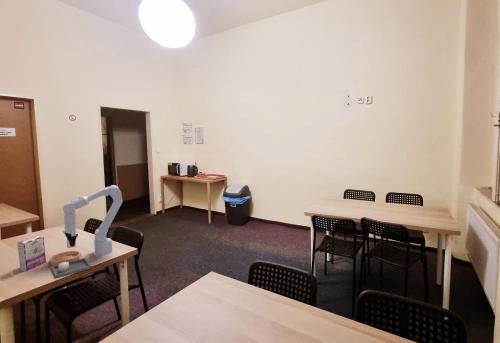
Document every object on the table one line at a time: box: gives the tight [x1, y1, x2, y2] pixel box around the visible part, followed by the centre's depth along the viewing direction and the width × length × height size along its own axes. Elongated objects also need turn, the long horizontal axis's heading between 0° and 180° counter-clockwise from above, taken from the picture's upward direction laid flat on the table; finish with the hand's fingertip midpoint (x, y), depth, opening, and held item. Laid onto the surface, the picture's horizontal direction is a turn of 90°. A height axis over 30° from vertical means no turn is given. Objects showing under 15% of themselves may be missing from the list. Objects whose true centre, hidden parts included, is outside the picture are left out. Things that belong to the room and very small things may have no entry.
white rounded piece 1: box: [58, 262, 69, 273], centre depth 142 cm, size 5×5×4 cm
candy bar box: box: [16, 235, 47, 272], centre depth 146 cm, size 11×5×16 cm, turn 168°
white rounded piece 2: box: [66, 239, 77, 249], centre depth 157 cm, size 5×5×4 cm
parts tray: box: [51, 257, 92, 279], centre depth 145 cm, size 16×14×2 cm
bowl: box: [49, 250, 82, 266], centre depth 156 cm, size 15×15×3 cm
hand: (71, 244), depth 157 cm, fingers closed on white rounded piece 2, 5 cm apart
